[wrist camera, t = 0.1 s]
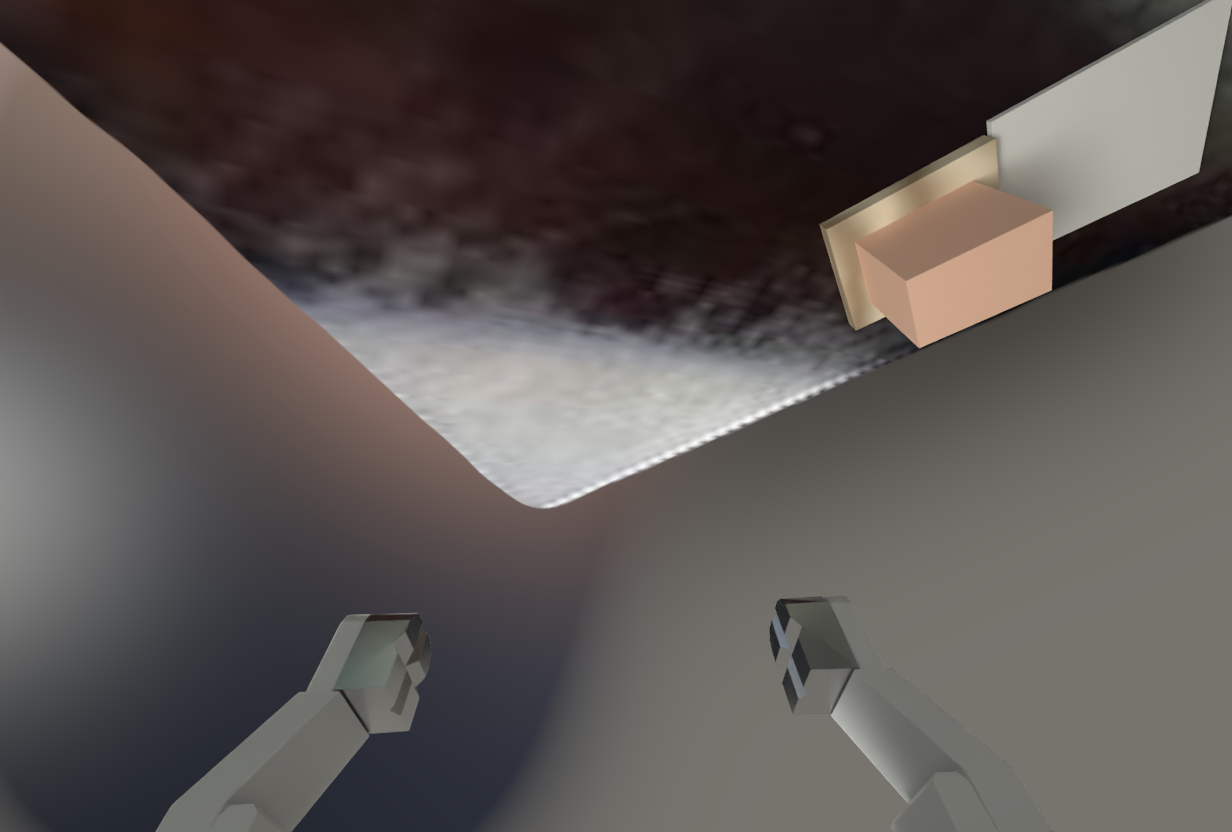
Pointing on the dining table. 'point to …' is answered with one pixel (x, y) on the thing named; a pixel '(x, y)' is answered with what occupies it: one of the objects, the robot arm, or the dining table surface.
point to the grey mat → (1116, 122)
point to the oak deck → (899, 216)
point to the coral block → (958, 261)
